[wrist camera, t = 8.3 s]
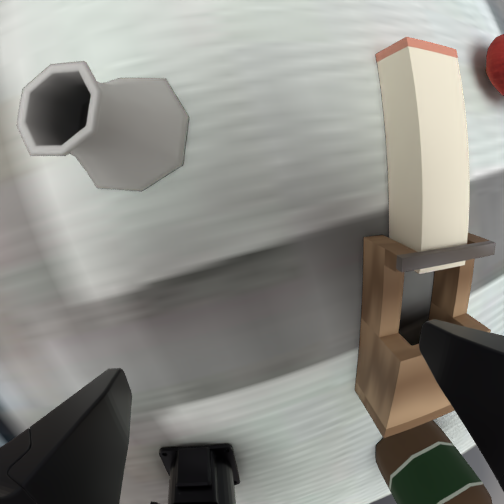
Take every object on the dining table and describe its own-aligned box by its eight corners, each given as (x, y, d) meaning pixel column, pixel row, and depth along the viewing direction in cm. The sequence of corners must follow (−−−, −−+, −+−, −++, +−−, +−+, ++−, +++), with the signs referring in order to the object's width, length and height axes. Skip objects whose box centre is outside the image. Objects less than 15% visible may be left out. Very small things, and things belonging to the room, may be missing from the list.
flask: (69, 97, 16) (-27, 60, 7) (178, 63, 17) (150, -21, 7) (89, 205, 18) (-4, 245, 9) (201, 176, 19) (187, 188, 9)
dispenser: (431, 366, 25) (467, 404, 19) (354, 390, 24) (383, 438, 19) (451, 227, 21) (505, 246, 16) (363, 237, 21) (412, 263, 15)
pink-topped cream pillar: (431, 249, 22) (465, 265, 18) (388, 255, 21) (419, 274, 17) (422, 62, 18) (456, 49, 14) (375, 54, 17) (406, 36, 14)
